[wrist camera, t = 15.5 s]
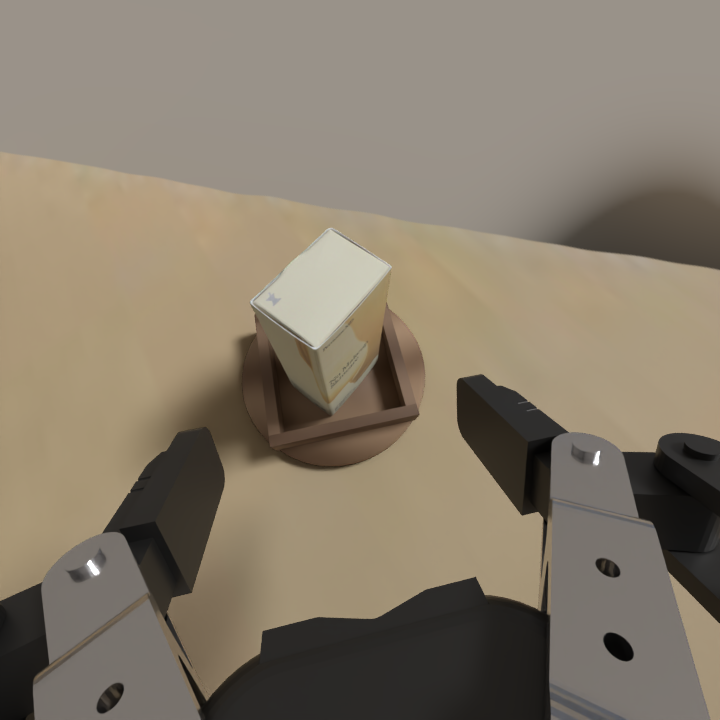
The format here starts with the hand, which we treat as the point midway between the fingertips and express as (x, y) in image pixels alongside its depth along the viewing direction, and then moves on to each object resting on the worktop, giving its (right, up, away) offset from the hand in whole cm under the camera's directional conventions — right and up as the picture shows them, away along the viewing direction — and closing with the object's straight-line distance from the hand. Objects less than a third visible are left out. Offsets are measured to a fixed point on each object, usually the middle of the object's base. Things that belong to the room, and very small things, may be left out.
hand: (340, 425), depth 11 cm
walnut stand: (-2, +1, +17) cm, 18 cm away
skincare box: (-1, +1, +17) cm, 17 cm away
